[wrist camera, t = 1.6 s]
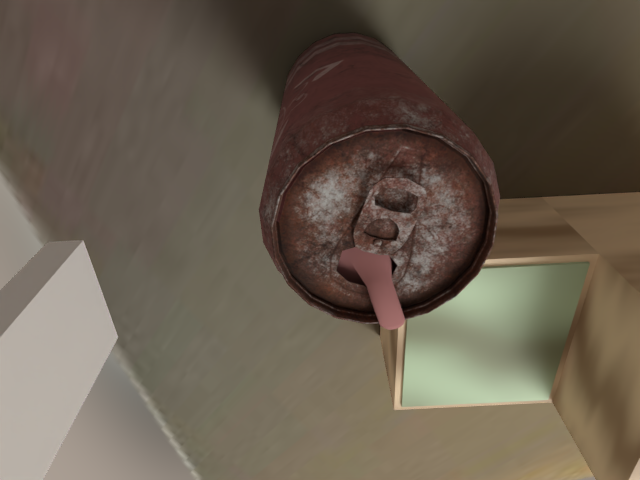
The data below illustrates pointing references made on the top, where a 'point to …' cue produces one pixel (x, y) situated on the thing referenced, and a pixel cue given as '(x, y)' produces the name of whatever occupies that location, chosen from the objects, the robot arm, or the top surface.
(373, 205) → the can
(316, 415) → the top surface
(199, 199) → the top surface
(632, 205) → the stand
